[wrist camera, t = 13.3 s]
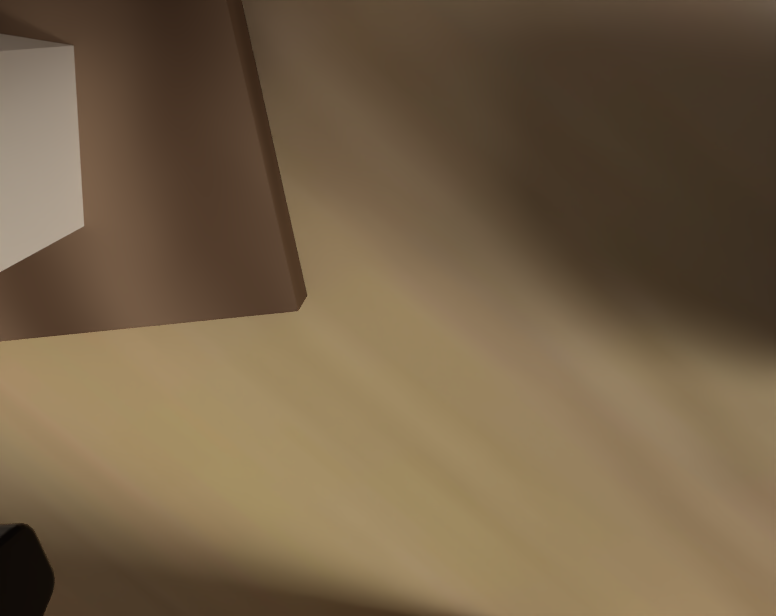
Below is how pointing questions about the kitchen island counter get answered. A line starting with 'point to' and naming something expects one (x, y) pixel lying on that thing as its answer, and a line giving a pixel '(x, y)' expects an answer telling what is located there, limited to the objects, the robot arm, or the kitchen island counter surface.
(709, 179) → the kitchen island counter surface
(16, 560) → the robot arm
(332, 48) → the kitchen island counter surface
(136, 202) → the board
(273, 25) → the kitchen island counter surface
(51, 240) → the carton
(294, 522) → the kitchen island counter surface
